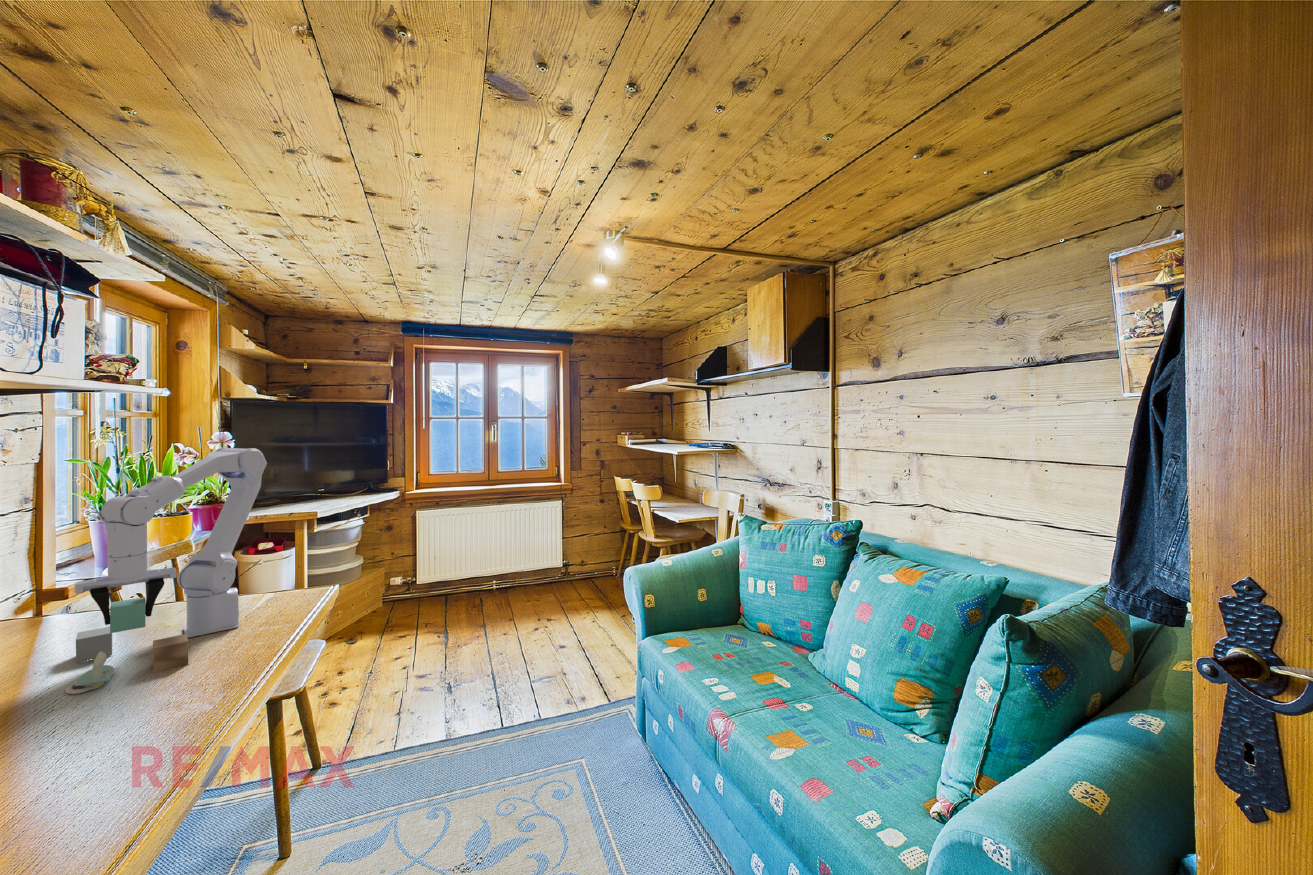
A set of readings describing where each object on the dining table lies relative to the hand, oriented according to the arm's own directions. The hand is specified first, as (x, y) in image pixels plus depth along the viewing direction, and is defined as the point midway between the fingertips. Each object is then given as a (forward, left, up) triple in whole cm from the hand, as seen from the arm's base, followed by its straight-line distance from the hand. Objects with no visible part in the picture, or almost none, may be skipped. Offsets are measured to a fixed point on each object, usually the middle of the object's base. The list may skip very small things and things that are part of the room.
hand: (128, 619), depth 106 cm
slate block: (+5, -7, -8) cm, 12 cm away
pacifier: (+5, +10, -9) cm, 14 cm away
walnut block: (-6, +9, -8) cm, 14 cm away
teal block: (0, 0, -2) cm, 2 cm away
